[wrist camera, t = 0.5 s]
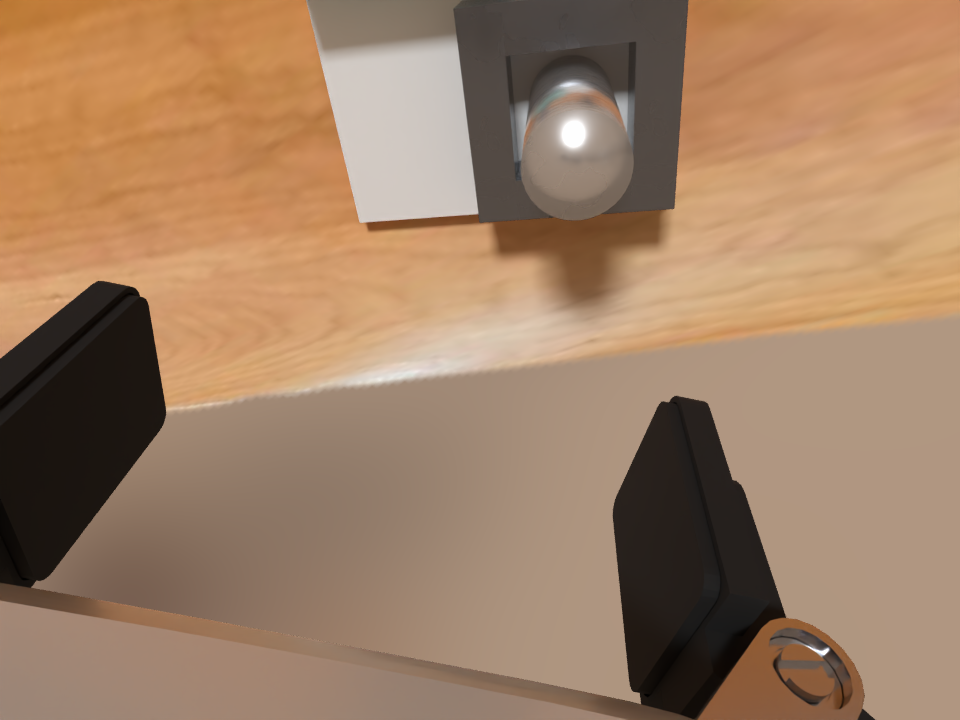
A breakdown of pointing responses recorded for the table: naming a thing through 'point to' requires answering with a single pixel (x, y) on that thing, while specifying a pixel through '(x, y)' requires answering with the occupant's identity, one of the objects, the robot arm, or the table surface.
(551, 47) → the holder block
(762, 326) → the table surface
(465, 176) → the docking plate
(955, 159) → the table surface
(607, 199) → the silver metal cylinder
